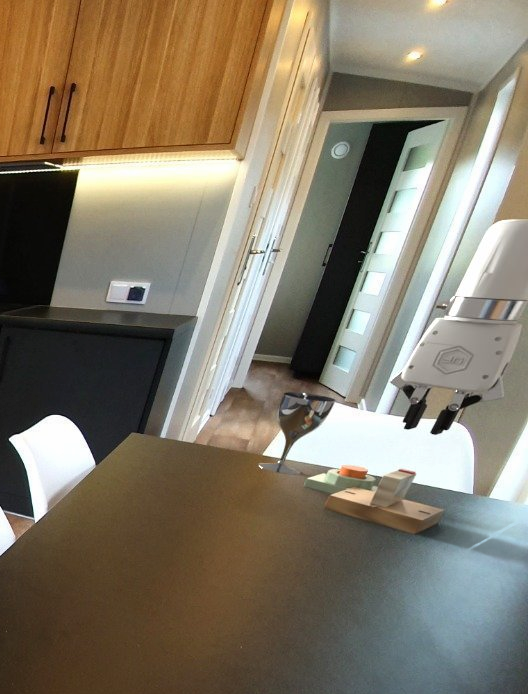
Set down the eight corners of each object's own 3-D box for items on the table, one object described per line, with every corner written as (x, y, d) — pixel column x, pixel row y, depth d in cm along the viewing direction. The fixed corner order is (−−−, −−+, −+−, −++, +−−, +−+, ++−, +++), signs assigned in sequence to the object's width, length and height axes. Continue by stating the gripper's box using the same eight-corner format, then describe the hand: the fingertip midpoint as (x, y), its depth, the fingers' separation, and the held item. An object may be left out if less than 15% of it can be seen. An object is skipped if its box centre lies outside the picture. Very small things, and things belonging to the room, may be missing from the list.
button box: (385, 498, 117) (394, 480, 115) (369, 504, 114) (379, 486, 112) (319, 481, 125) (327, 464, 123) (303, 486, 122) (310, 469, 120)
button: (367, 478, 117) (371, 469, 117) (359, 481, 116) (363, 472, 115) (343, 472, 120) (347, 463, 119) (334, 475, 118) (338, 466, 118)
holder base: (438, 522, 107) (446, 508, 106) (413, 535, 102) (421, 519, 101) (349, 498, 116) (355, 485, 115) (321, 508, 111) (328, 494, 110)
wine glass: (300, 467, 132) (331, 396, 126) (306, 477, 126) (339, 403, 120) (253, 460, 136) (281, 390, 130) (257, 469, 130) (286, 397, 124)
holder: (386, 507, 105) (401, 478, 103) (369, 503, 107) (384, 473, 105) (402, 500, 109) (417, 472, 106) (385, 496, 110) (400, 468, 108)
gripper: (402, 306, 99) (350, 421, 107) (558, 318, 87) (485, 447, 94) (420, 305, 103) (368, 416, 111) (573, 316, 90) (501, 441, 98)
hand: (423, 430), depth 102 cm, fingers closed
